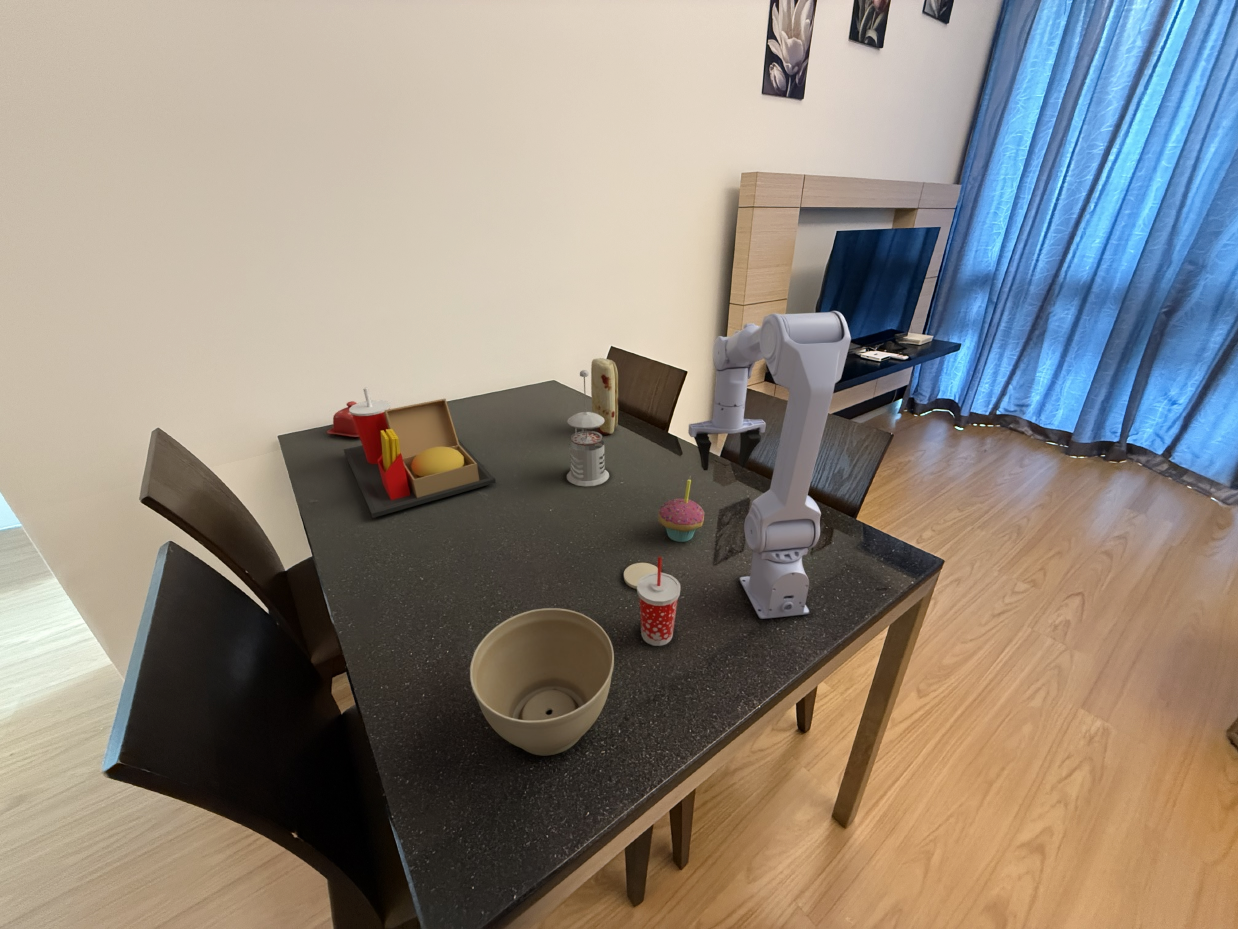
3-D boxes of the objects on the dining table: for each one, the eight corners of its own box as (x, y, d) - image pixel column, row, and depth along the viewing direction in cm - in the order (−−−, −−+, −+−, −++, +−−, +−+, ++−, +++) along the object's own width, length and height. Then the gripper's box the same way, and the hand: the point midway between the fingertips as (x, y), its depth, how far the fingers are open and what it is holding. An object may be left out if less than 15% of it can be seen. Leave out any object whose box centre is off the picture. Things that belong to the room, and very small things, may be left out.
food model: (587, 426, 146) (584, 355, 137) (609, 422, 149) (608, 352, 140) (600, 439, 138) (598, 365, 129) (623, 435, 141) (623, 362, 132)
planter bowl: (464, 703, 67) (451, 640, 62) (576, 651, 75) (573, 591, 70) (511, 816, 55) (500, 749, 50) (639, 740, 62) (641, 675, 57)
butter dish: (356, 421, 151) (349, 392, 147) (389, 425, 148) (383, 397, 144) (325, 436, 141) (316, 407, 137) (360, 442, 138) (352, 411, 134)
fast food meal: (374, 522, 104) (351, 436, 96) (345, 456, 130) (326, 385, 122) (496, 486, 117) (486, 408, 108) (447, 433, 143) (436, 367, 134)
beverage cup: (663, 656, 74) (666, 577, 67) (627, 637, 77) (628, 560, 71) (685, 631, 78) (691, 554, 72) (651, 613, 81) (653, 538, 75)
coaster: (665, 587, 86) (665, 585, 86) (626, 591, 86) (626, 588, 85) (657, 563, 92) (657, 561, 92) (621, 567, 91) (621, 564, 91)
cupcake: (674, 517, 105) (677, 464, 100) (711, 533, 100) (716, 478, 95) (649, 537, 99) (650, 481, 94) (687, 554, 94) (691, 497, 89)
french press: (572, 489, 115) (566, 379, 104) (560, 466, 125) (554, 363, 114) (614, 482, 118) (613, 374, 107) (600, 460, 128) (597, 359, 116)
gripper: (759, 392, 102) (751, 455, 108) (685, 396, 100) (682, 460, 106) (773, 405, 96) (764, 471, 102) (695, 409, 94) (691, 476, 100)
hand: (723, 466), depth 104 cm, fingers open, 7 cm apart
